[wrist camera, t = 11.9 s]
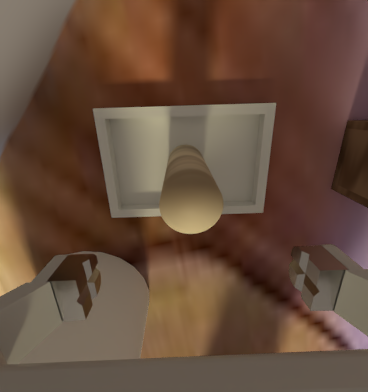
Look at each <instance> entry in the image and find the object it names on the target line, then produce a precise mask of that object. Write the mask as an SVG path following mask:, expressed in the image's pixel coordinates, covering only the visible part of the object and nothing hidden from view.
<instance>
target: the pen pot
mask: <svg viewBox="0 0 368 392" xmlns="http://www.w3.org/2000/svg"><path fill="white" fill-rule="evenodd" d="M331 189H333V190H335V191H337V192H339V193H340V194H342V195H344V196H346V197H348V198H350V199H352V200H354V201H356V202H358V203H360V204H362V205H364V206H366V207H367V208H368V120H352V121H348V122H347V126H346V130H345V134H344V138H343V142H342V146H341V151H340V155H339V159H338V163H337V167H336V171H335V176H334V180H333V184H332V188H331Z"/></svg>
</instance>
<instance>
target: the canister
mask: <svg viewBox="0 0 368 392" xmlns="http://www.w3.org/2000/svg"><path fill="white" fill-rule="evenodd" d="M72 254H95V255H96V256H97V260H98V264H97V266H96V268H97V269H98V270H99V271H100V274H101V285H100V290H99V292H98V295H97V296H96V297H95V298H93V299H92V303H93V306H92V308H91V310H90V312H89V314H88V316H87V318H86V320H78V321H63V322H62V324H61V325H59V326H58V327H57V328H56V329H55V330H54V331H53V332H52V333H51V334H50V335H49V336H47V337H46V338H45V339H44V340H43V341H42V342H41V343H40V344H39V345H38V346H37V347H35V348H34V349H33V350H32V351H31V352H30V353H29V354H28V355H27V356H26V357H25V358H23V359H22V360H21V361H20V362H19V363H18V364H25V363H50V362H74V361H97V360H120V359H140V356H141V350H142V344H143V337H144V331H145V325H146V319H147V313H148V306H149V289H148V286H147V284H146V281H145V279H144V277H143V276H142V275H141V274H140V273H139V272H138V271H137V270H136V268H135V267H134V266H132V265H130V264H129V263H127V262H126V261H124V260H123V259H121V258H119V257H116V256H113V255H110V254H106V253H103V252H92V251H81V252H77V253H72ZM69 255H70V254H69Z"/></svg>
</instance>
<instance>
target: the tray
mask: <svg viewBox="0 0 368 392" xmlns="http://www.w3.org/2000/svg"><path fill="white" fill-rule="evenodd" d="M275 110H276V103H253V104H221V105H188V106H156V107H124V108H93V113H94V119H95V125H96V131H97V137H98V142H99V148H100V154H101V160H102V165H103V171H104V177H105V183H106V189H107V194H108V200H109V206H110V212H111V217H112V218H120V217H151V216H161V213H160V209H159V202H160V196H161V192H162V187H163V182H164V177H165V173H166V168H167V163H168V159H169V155H170V153H171V152H172V151H173V150H174V149H175V148H176V147H178V146H180V145H191V146H194V147H195V148H197V149H198V150H199V151H200V153H201V154H202V156H203V158H204V160H205V162H206V164H207V166H208V168H209V170H210V172H211V174H212V176H213V178H214V180H215V182H216V184H217V186H218V188H219V190H220V192H221V194H222V197H223V211H222V214H241V213H263V210H264V201H265V193H266V185H267V176H268V168H269V160H270V151H271V143H272V135H273V127H274V118H275Z"/></svg>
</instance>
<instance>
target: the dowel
mask: <svg viewBox="0 0 368 392" xmlns="http://www.w3.org/2000/svg"><path fill="white" fill-rule="evenodd" d="M159 209H160V213H161V216H162V218H163V220H164V221H165V222H166V224H167V225H168V226H169V227H171V228H172V229H174V230H176V231H178V232H181V233H186V234H196V233H200V232H203V231H206V230H208V229H209V228H211V227H212V226H213V225H214V224H215V223H216V222H217V221H218V220H219V218H220V216H221V214H222V211H223V197H222V194H221V192H220V190H219V188H218V186H217V184H216V182H215V180H214V178H213V176H212V174H211V172H210V170H209V168H208V166H207V164H206V162H205V160H204V158H203V156H202V154H201V153H200V151H199V150H198V149H197V148H195V147H194V146H191V145H180V146H178V147H176V148H175V149H174V150H173V151H172V152H171V153H170V155H169V159H168V163H167V168H166V173H165V177H164V182H163V187H162V192H161V196H160V202H159Z"/></svg>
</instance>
